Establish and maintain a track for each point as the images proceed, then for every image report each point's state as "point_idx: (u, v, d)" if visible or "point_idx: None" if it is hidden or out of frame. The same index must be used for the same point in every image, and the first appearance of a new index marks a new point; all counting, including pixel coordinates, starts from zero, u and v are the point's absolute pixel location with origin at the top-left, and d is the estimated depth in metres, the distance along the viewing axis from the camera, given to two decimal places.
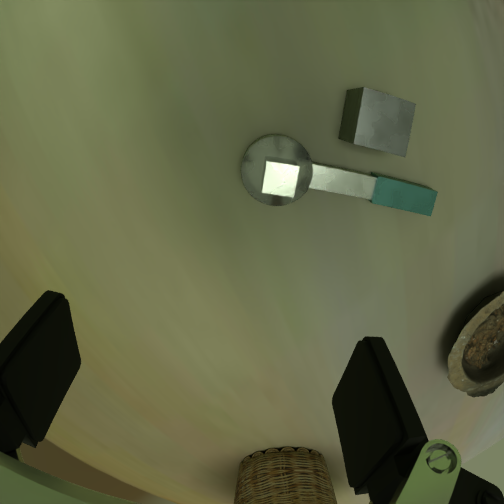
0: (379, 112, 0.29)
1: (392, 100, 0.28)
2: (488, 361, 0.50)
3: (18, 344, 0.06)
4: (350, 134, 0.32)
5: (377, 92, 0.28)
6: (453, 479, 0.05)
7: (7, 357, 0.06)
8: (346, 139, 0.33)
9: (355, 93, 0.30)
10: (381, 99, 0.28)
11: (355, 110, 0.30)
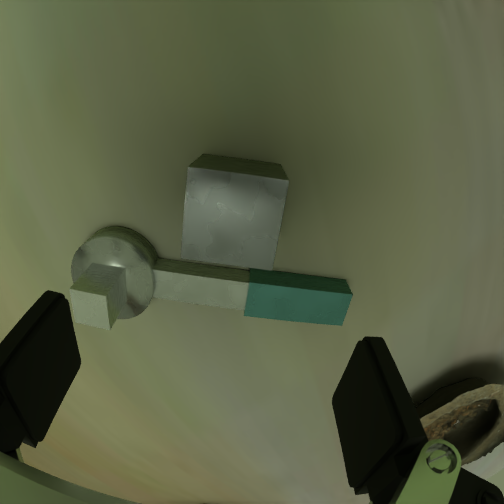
0: (218, 205, 0.20)
1: (241, 181, 0.19)
2: None
3: (18, 344, 0.06)
4: None
5: (212, 172, 0.19)
6: (453, 479, 0.05)
7: (8, 357, 0.06)
8: None
9: None
10: (220, 183, 0.19)
11: None
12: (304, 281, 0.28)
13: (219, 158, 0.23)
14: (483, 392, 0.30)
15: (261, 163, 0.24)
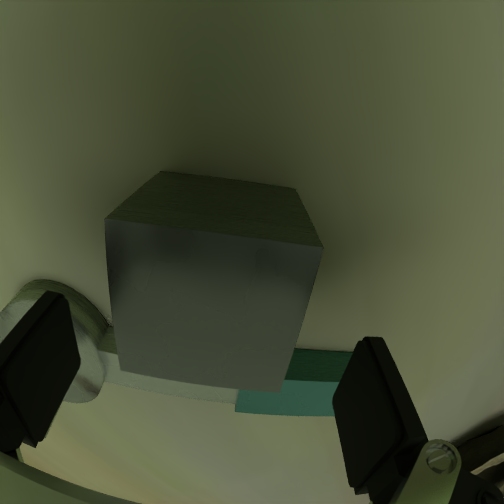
0: (173, 296, 0.10)
1: (219, 250, 0.09)
2: None
3: (18, 344, 0.06)
4: None
5: (155, 230, 0.09)
6: (453, 479, 0.05)
7: (7, 357, 0.06)
8: None
9: None
10: (174, 253, 0.09)
11: None
12: (325, 365, 0.18)
13: (185, 182, 0.13)
14: None
15: (261, 189, 0.13)
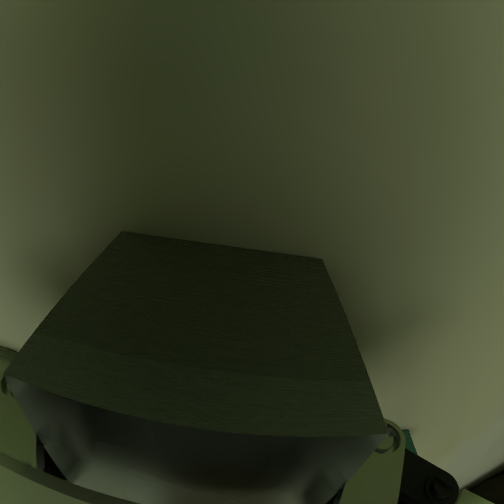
0: (135, 474, 0.05)
1: (201, 446, 0.04)
2: None
3: None
4: None
5: (82, 408, 0.04)
6: (401, 456, 0.05)
7: None
8: None
9: None
10: (122, 439, 0.04)
11: None
12: None
13: (153, 259, 0.08)
14: None
15: (273, 269, 0.09)
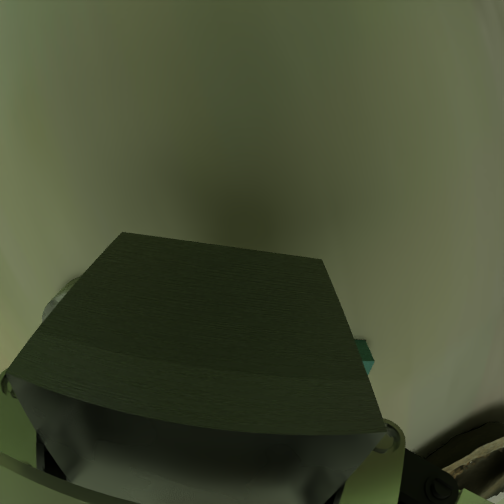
0: (136, 473, 0.05)
1: (201, 444, 0.04)
2: None
3: None
4: None
5: (84, 407, 0.04)
6: (400, 456, 0.05)
7: None
8: None
9: None
10: (123, 437, 0.04)
11: None
12: None
13: (153, 259, 0.08)
14: (502, 442, 0.23)
15: (273, 269, 0.09)
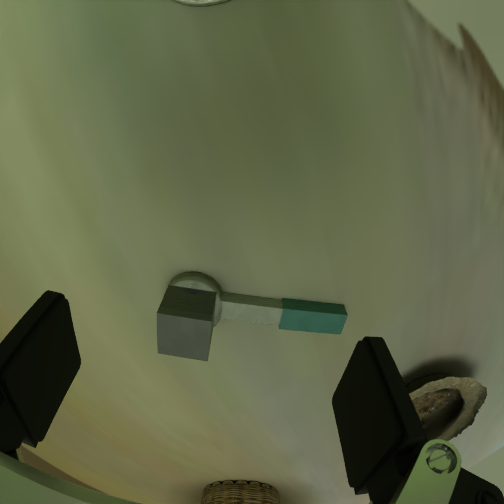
0: (175, 331, 0.35)
1: (186, 321, 0.35)
2: (423, 425, 0.57)
3: (18, 344, 0.06)
4: None
5: (170, 316, 0.35)
6: (454, 479, 0.05)
7: (8, 357, 0.06)
8: None
9: None
10: (175, 321, 0.35)
11: None
12: (317, 306, 0.43)
13: (177, 292, 0.39)
14: (445, 383, 0.45)
15: (203, 294, 0.39)
